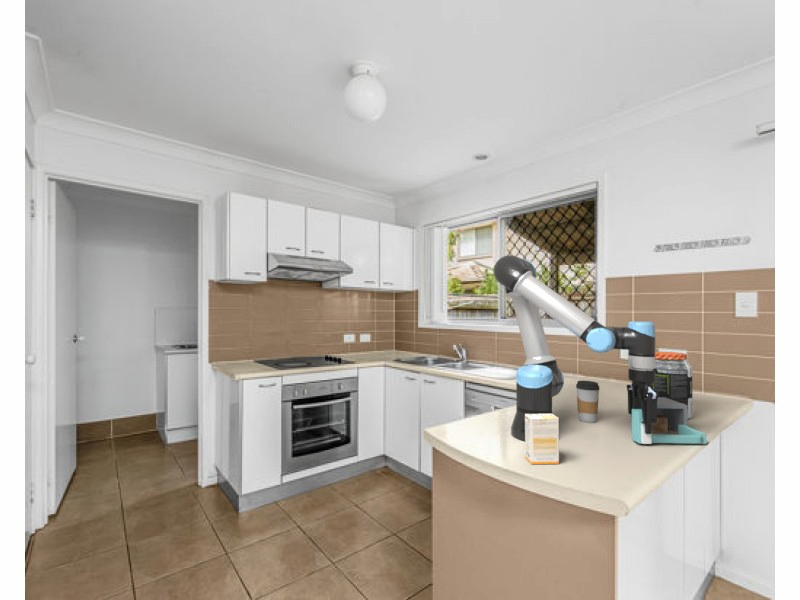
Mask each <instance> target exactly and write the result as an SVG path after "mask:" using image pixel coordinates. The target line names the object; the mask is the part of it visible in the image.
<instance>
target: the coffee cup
mask: <svg viewBox="0 0 800 600" xmlns="http://www.w3.org/2000/svg"><path fill="white" fill-rule="evenodd" d="M575 387H576V402H577V405H576V406H577V414H578V415H577V416H578V419H579V421H580V422H582V423H586V424H595V423H597V421H598V413H599V412H598V411H599V410H598V409H599V394H600V385H599V382H596V381H593V380H592V381H591V380H577V382H576V385H575Z"/></svg>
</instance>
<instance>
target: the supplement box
mask: <svg viewBox="0 0 800 600" xmlns="http://www.w3.org/2000/svg"><path fill="white" fill-rule="evenodd" d="M559 421H560V420H559V416H556V415H555V414H553V413H552V414H525V441H524V445H525V446H524V451H525V453H524V456H525V460H526V461H527V462H528V463H529V462H530V463H531V464H530V463H529V464H530V465H559V464H560V433H559V432H560V428H559V427H560V425H559V424H560V423H559Z"/></svg>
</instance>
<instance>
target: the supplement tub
mask: <svg viewBox="0 0 800 600" xmlns="http://www.w3.org/2000/svg"><path fill="white" fill-rule="evenodd" d="M653 370H654V371H655V382H652V384H651V385H652V390H653V391H654V392H657V393H658V394H659V396H658V397H665V398H668V399H671V400H674V401H676V402H679V403H682V404H685V405H687V412H688V419H690V418H691V417H693V414H694V413H693V412H694V411H693V405H694V404H693V368H692V366H691V364H690V363H689V362H688V356H687V353H683V352H675V351H655V369H653Z"/></svg>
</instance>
